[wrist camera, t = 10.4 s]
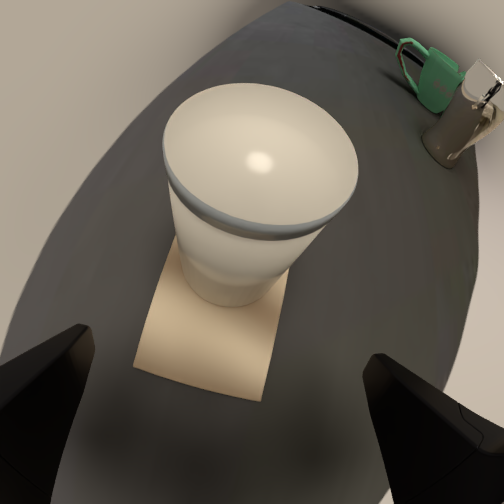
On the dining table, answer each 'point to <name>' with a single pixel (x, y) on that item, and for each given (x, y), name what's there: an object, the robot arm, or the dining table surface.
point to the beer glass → (467, 115)
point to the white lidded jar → (252, 185)
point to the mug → (432, 76)
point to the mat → (208, 336)
